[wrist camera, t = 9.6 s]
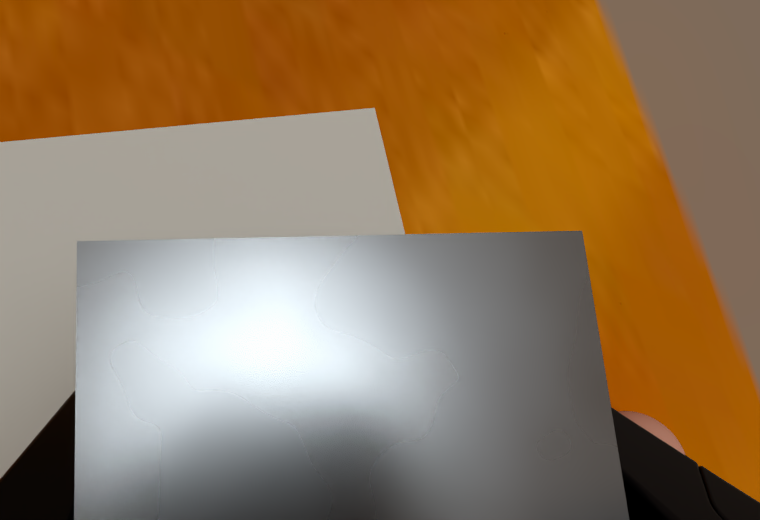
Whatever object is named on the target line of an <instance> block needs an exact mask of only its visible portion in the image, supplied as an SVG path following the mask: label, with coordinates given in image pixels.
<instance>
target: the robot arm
mask: <svg viewBox="0 0 760 520" xmlns="http://www.w3.org/2000/svg"><path fill="white" fill-rule="evenodd" d="M611 411H612V417H613V423H614V429H615V435H616V441H617V447H618V453H619V459H620V465H621V471H622V478H623V484H624V490H625V496H626V502H627V508H628V514H629V520H760V503H759V502H758V501H756V500H755V499H753V498H751V497H750V496H748V495H747V494H745V493H743V492H742V491H740V490H739V489H737V488H735V487H734V486H732V485H731V484H729V483H727V482H726V481H724V480H723V479H721V478H720V477H718V476H717V475H715V474H714V473H712V472H710V471H709V470H707V469H706V468H704V467H703V466H699V467H698V464H697V463H696V462H695V461H693V460H692V459H690V458H689V457H687V456H686V455H684V454H682V453H681V452H679V451H678V450H676V449H675V448H673V447H672V446H670V445H669V444H667V443H666V442H664V441H662V440H661V439H659V438H658V437H656V436H655V435H653V434H652V433H650V432H649V431H647V430H645V429H644V428H642V427H641V426H639V425H638V424H636V423H635V422H633V421H632V420H630V419H628V418H627V417H625V416H624V415H622V414H621V413H619V412H618V411H616V410H615V409H613V408H611ZM74 489H75V391H74V392H73V393H72V394H71V395H70V396H69V398H68V399H67V400H66V401H65V402H64V404H63V405H62V406H61V407H60V408H59V410H58V411H57V412H56V413H55V414H54V416H53V417H52V418H51V419H50V420H49V421H48V423H47V424H46V425H45V426H44V427H43V429H42V430H41V431H40V432H39V433H38V435H37V436H36V437H35V438H34V439H33V440H32V442H31V443H30V444H29V445H28V446H27V448H26V449H25V450H24V451H23V452H22V454H21V455H20V456H19V457H18V458H17V460H16V461H15V462H14V463H13V464H12V465H11V467H10V468H9V469H8V470H7V471H6V473H5V474H4V475H3V476H2V477H1V479H0V520H74Z"/></svg>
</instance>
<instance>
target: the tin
mask: <svg viewBox="0 0 760 520" xmlns="http://www.w3.org/2000/svg"><path fill="white" fill-rule="evenodd" d="M74 520H629V514H628V508H627V502H626V496H625V490H624V484H623V478H622V471H621V465H620V459H619V453H618V447H617V441H616V435H615V429H614V423H613V417H612V411H611V404H610V398H609V392H608V386H607V380H606V374H605V368H604V362H603V356H602V350H601V344H600V338H599V331H598V325H597V319H596V313H595V307H594V301H593V295H592V289H591V283H590V277H589V271H588V265H587V258H586V252H585V246H584V240H583V234H582V231H552V232H503V233H454V234H405V235H356V236H307V237H257V238H208V239H159V240H110V241H77V287H76V388H75V489H74Z"/></svg>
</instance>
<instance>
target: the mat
mask: <svg viewBox="0 0 760 520" xmlns="http://www.w3.org/2000/svg"><path fill="white" fill-rule="evenodd" d="M356 235H405V232H404V228H403V224H402V219H401V215H400V211H399V207H398V203H397V199H396V195H395V190H394V186H393V182H392V178H391V174H390V170H389V166H388V161H387V157H386V153H385V149H384V145H383V141H382V137H381V133H380V128H379V124H378V120H377V116H376V112H375V108H368V109H357V110H347V111H336V112H325V113H314V114H303V115H292V116H281V117H270V118H259V119H249V120H238V121H227V122H216V123H205V124H194V125H183V126H172V127H161V128H151V129H140V130H129V131H118V132H107V133H96V134H85V135H74V136H63V137H53V138H42V139H31V140H20V141H9V142H0V479H1V477H2V476H3V475H4V474H5V473H6V471H7V470H8V469H9V468H10V467H11V465H12V464H13V463H14V462H15V461H16V460H17V458H18V457H19V456H20V455H21V454H22V452H23V451H24V450H25V449H26V448H27V446H28V445H29V444H30V443H31V442H32V440H33V439H34V438H35V437H36V436H37V435H38V433H39V432H40V431H41V430H42V429H43V427H44V426H45V425H46V424H47V423H48V421H49V420H50V419H51V418H52V417H53V416H54V414H55V413H56V412H57V411H58V410H59V408H60V407H61V406H62V405H63V404H64V402H65V401H66V400H67V399H68V398H69V396H70V395H71V394H72V393H73V392H74V391H75V388H76V287H77V241H110V240H159V239H208V238H257V237H307V236H356Z"/></svg>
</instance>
